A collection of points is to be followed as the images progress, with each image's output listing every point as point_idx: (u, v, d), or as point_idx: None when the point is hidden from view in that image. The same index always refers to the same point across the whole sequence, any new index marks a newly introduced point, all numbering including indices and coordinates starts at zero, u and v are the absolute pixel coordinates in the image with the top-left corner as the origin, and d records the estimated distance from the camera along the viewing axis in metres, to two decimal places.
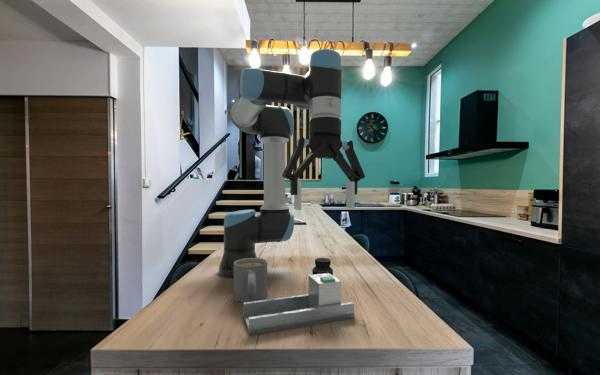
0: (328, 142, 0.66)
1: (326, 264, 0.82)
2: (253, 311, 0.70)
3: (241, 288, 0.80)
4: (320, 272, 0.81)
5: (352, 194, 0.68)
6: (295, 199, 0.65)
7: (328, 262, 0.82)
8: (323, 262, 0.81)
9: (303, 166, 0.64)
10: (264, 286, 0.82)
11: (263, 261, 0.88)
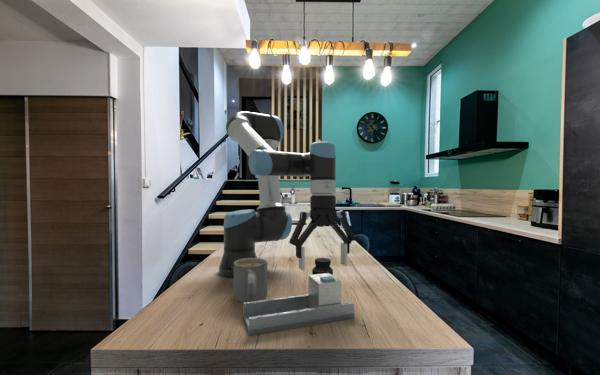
0: (325, 214, 0.83)
1: (326, 264, 0.82)
2: (253, 311, 0.70)
3: (241, 288, 0.80)
4: (320, 272, 0.81)
5: (345, 254, 0.84)
6: (299, 260, 0.81)
7: (328, 262, 0.82)
8: (323, 262, 0.81)
9: (306, 235, 0.80)
10: (264, 286, 0.82)
11: (263, 261, 0.88)
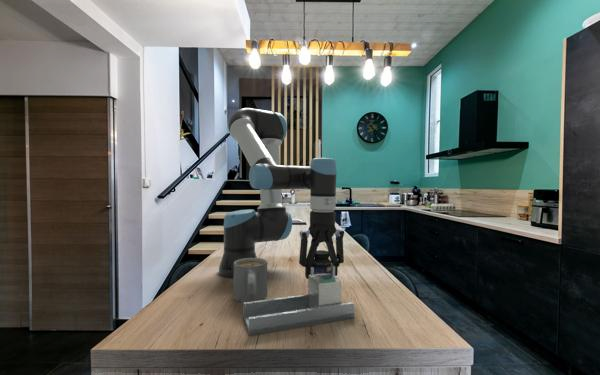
0: (325, 226, 0.83)
1: (325, 256, 0.82)
2: (253, 311, 0.70)
3: (241, 288, 0.80)
4: (318, 264, 0.81)
5: None
6: (308, 280, 0.83)
7: (327, 254, 0.82)
8: (322, 254, 0.82)
9: (312, 255, 0.82)
10: (264, 286, 0.82)
11: (263, 261, 0.88)
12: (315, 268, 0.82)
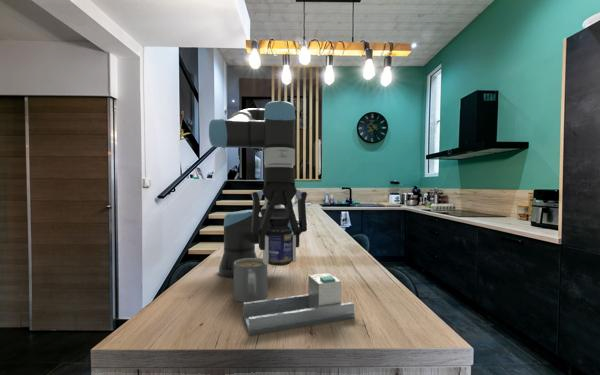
0: (283, 186, 0.68)
1: (282, 222, 0.67)
2: (253, 311, 0.70)
3: (241, 288, 0.80)
4: (274, 231, 0.66)
5: (293, 248, 0.69)
6: (263, 253, 0.68)
7: (285, 220, 0.67)
8: (278, 219, 0.67)
9: (266, 220, 0.66)
10: (264, 286, 0.82)
11: None
12: (270, 237, 0.67)
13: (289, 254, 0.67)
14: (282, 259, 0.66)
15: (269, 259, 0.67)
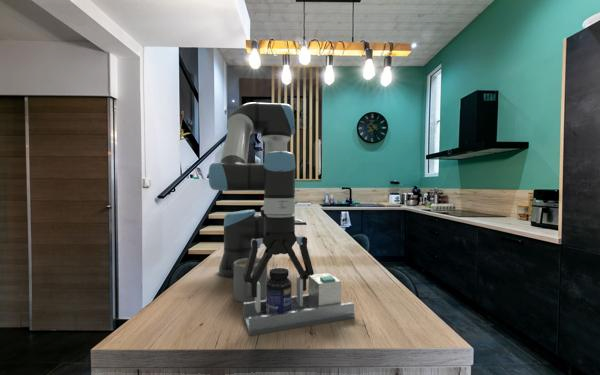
0: (282, 237, 0.68)
1: (282, 276, 0.67)
2: (253, 311, 0.70)
3: (241, 288, 0.80)
4: (273, 286, 0.66)
5: (300, 292, 0.69)
6: (255, 299, 0.68)
7: (284, 274, 0.67)
8: (278, 274, 0.67)
9: (260, 268, 0.66)
10: (264, 286, 0.82)
11: None
12: (269, 291, 0.67)
13: (289, 308, 0.67)
14: None
15: (268, 313, 0.67)
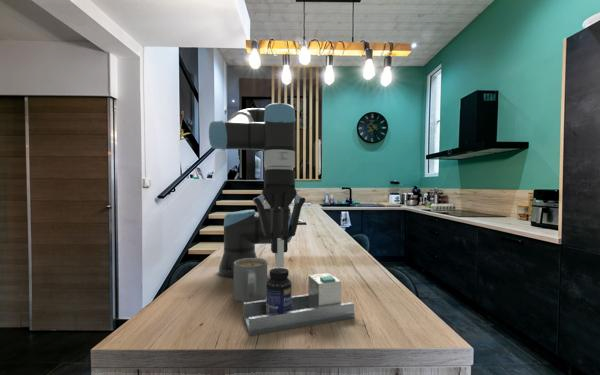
0: (285, 185, 0.68)
1: (282, 276, 0.67)
2: (253, 311, 0.70)
3: (241, 288, 0.80)
4: (273, 286, 0.66)
5: (281, 253, 0.68)
6: (275, 256, 0.69)
7: (284, 274, 0.67)
8: (278, 274, 0.67)
9: (274, 224, 0.67)
10: (264, 286, 0.82)
11: (263, 261, 0.88)
12: (269, 291, 0.67)
13: (289, 308, 0.67)
14: None
15: (268, 313, 0.67)
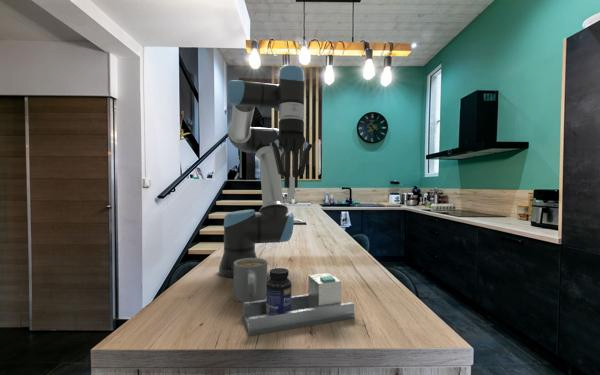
0: (295, 133, 0.84)
1: (282, 276, 0.67)
2: (253, 311, 0.70)
3: (241, 288, 0.80)
4: (274, 286, 0.66)
5: (292, 187, 0.84)
6: (287, 191, 0.85)
7: (285, 274, 0.67)
8: (278, 274, 0.67)
9: (287, 163, 0.83)
10: (264, 286, 0.82)
11: (263, 261, 0.88)
12: (269, 291, 0.67)
13: (289, 308, 0.67)
14: None
15: (268, 313, 0.67)
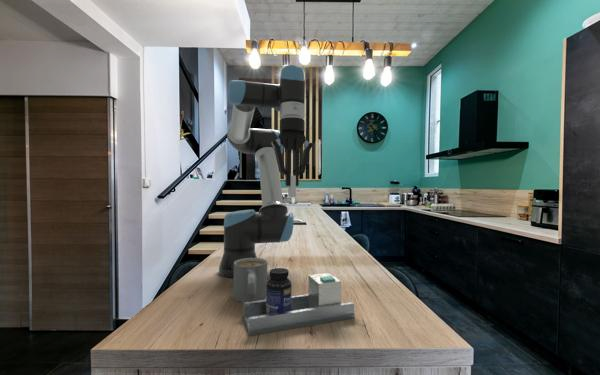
0: (296, 131, 0.85)
1: (282, 276, 0.67)
2: (253, 311, 0.70)
3: (241, 288, 0.80)
4: (273, 286, 0.66)
5: (293, 185, 0.84)
6: (289, 189, 0.86)
7: (284, 274, 0.67)
8: (278, 274, 0.67)
9: (288, 162, 0.84)
10: (264, 286, 0.82)
11: (263, 261, 0.88)
12: (269, 291, 0.67)
13: (289, 308, 0.67)
14: None
15: (268, 313, 0.67)
